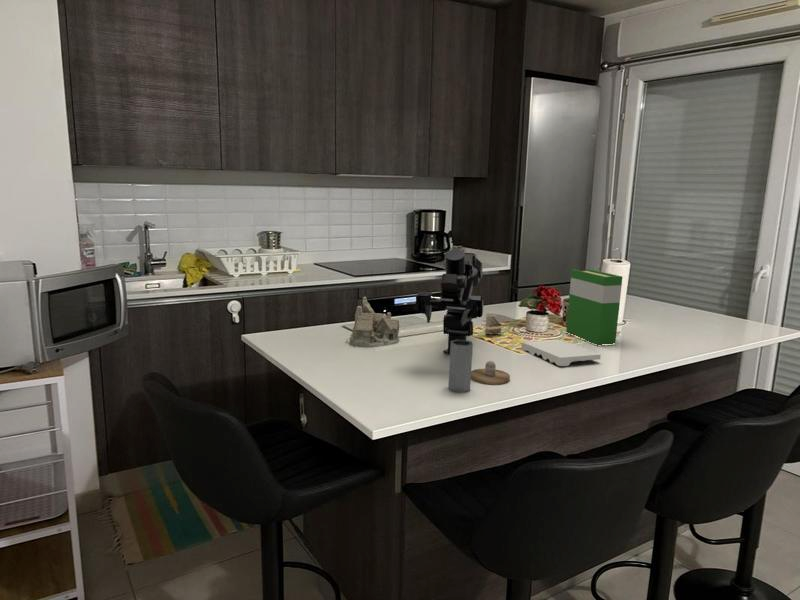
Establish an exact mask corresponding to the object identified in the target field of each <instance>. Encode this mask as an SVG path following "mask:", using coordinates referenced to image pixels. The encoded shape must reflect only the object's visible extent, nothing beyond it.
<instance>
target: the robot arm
mask: <svg viewBox="0 0 800 600" xmlns="http://www.w3.org/2000/svg"><path fill="white" fill-rule="evenodd" d="M444 271H445V273H442V275H441V281H440V291H439V295H440V297H439V296H433V295H432V294H433V293H432V291H418V292H417V294H416V296H415V297H416V306H417V307H416V308H417V311H418V312H419V313H421V314H424V315H425V317H426V323H427V324H429V323H430V322H431V317H432V310H433V306H439V307H440V306H441V307H442V309H443V310H447V311H446V314H445V315H443V323H442V324H443V328H442V329H443V332H442V333H443V335H448V339H447V348H446V349H444V350H443V351H442V352H443V353H446V354H449V355H450V346H451V341H453V340H467V337H470V336H474V322H473V321H472V320H473V319H477V318H482V317H483V315H484V298H483V297H482V296H481V295H472V292H473V288H474V287H476V286H477V285H479V283H480V280H481V279H482V278H483V263H482V262H481V261H480V259H478V258H477V253H474V252H464V251H463V250H461V248H460V247H453V249H449V250H447V251H446V252H445V253H444Z"/></svg>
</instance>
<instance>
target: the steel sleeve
mask: <svg viewBox="0 0 800 600" xmlns="http://www.w3.org/2000/svg"><path fill="white" fill-rule="evenodd" d="M473 344H474V343H473V341H470V340H468V339H466V340H453V341H451V346H450V354H449V365H448V366H449V367H448V368H449V369H448V384H447V385H448V388H447V389H448V390H449V391H452V392H454V393H467V392H470V391H471V380H472V379H471V371H472V367H473V366H472V364H473V347H474V345H473Z"/></svg>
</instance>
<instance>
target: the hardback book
mask: <svg viewBox="0 0 800 600" xmlns="http://www.w3.org/2000/svg"><path fill="white" fill-rule="evenodd" d="M570 273H571V274H570V275H571V276H570V285H569V287H570V288H569V295H568V296H569V297H568V306H567V317H566V329H565V333H566V332H568V333H570V334H573V335H576V336H578V337H580V338H583V339H585V340H587V341H589V342H591V343H594V344H597V345H602V344H613V343H615V344H616V342H617V332H618V321H619V312H620V304H621V295H622V285H623V276H622V275H617V274H613V273H609V272H603V271H600V270H599V271H598V270H595V269H590V268H586V270H578V269H575V268H574V269H573V268H572V269H571V272H570ZM591 343H590V344H591Z"/></svg>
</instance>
